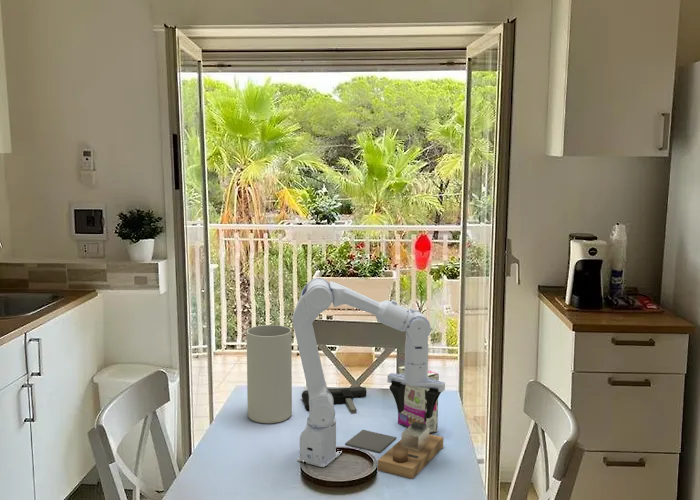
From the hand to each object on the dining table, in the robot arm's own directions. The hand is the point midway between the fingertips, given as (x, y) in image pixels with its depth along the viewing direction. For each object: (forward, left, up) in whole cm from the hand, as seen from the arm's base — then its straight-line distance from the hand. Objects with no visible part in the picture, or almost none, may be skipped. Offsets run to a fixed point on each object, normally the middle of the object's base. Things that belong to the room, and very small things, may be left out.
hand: (415, 414), depth 168 cm
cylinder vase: (+3, +46, -11) cm, 47 cm away
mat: (+1, +13, -10) cm, 16 cm away
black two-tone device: (+20, +33, -11) cm, 40 cm away
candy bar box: (+16, +6, -11) cm, 20 cm away
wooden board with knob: (-2, 0, -10) cm, 11 cm away
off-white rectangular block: (0, 0, -8) cm, 8 cm away
